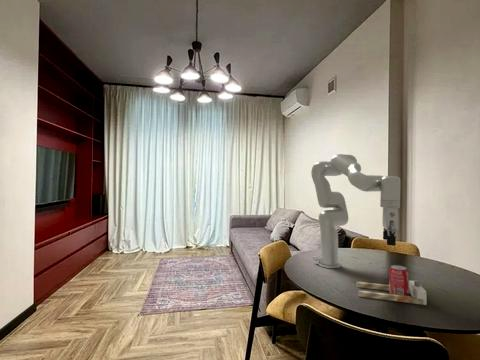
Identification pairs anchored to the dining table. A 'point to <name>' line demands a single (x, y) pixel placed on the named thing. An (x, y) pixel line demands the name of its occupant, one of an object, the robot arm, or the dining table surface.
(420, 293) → the connector block
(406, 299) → the guide channel
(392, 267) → the soda can
